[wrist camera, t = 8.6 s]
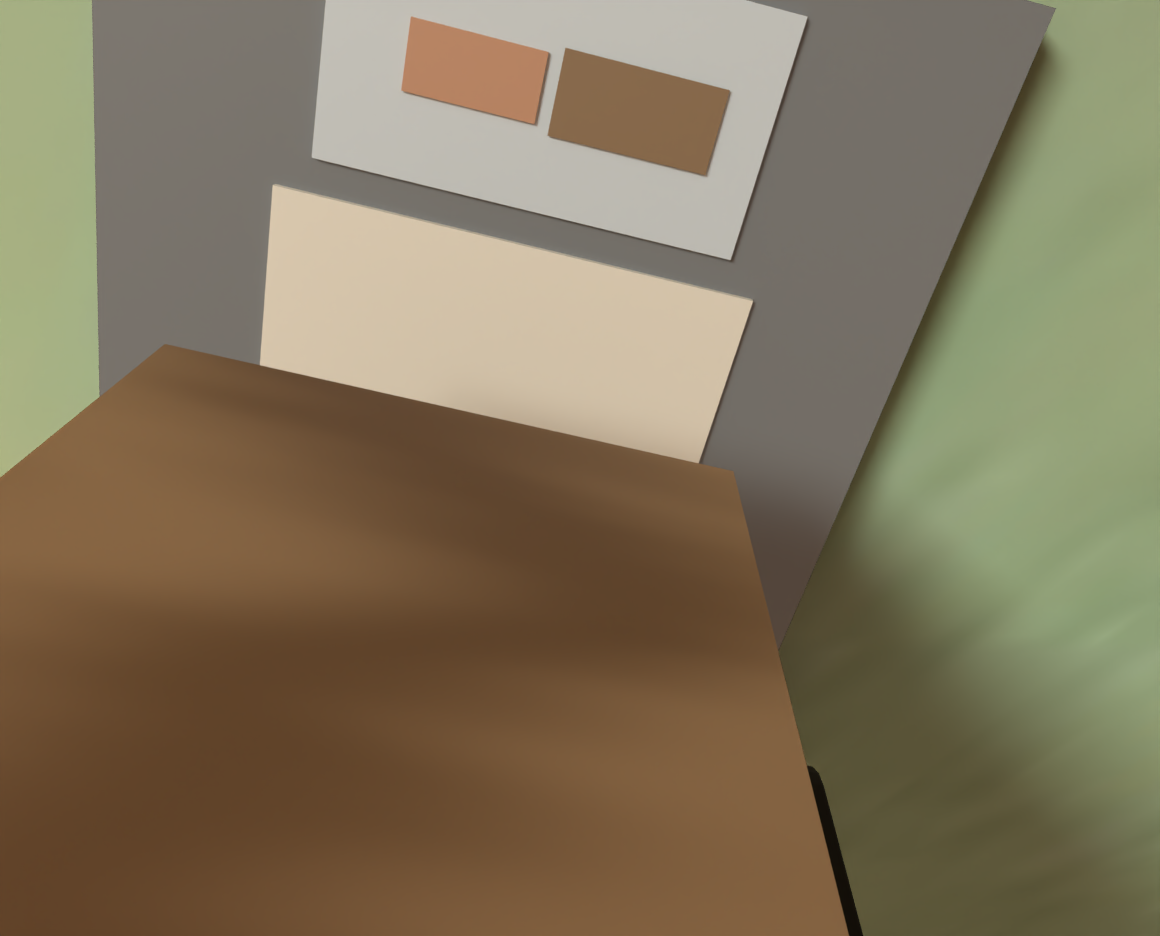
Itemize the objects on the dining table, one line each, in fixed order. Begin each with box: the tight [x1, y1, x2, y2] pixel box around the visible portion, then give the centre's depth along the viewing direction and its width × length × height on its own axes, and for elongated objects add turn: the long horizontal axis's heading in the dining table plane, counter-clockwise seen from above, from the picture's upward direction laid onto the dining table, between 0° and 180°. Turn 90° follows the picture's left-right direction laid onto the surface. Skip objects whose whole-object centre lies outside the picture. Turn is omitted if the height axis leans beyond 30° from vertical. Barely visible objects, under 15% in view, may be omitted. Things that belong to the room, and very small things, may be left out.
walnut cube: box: [0, 344, 849, 936], centre depth 8 cm, size 6×6×6 cm
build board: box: [92, 0, 1056, 651], centre depth 15 cm, size 12×16×1 cm
